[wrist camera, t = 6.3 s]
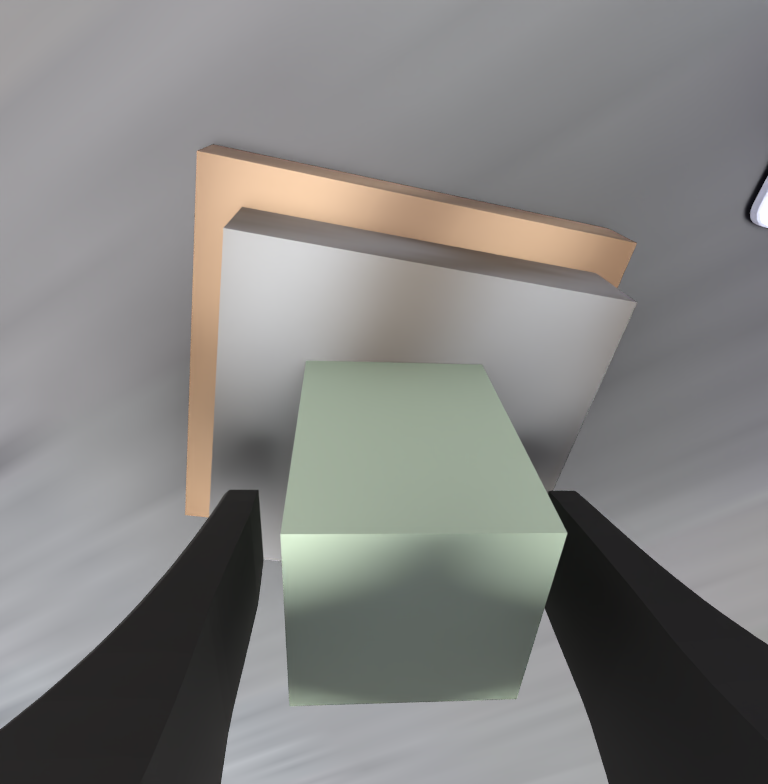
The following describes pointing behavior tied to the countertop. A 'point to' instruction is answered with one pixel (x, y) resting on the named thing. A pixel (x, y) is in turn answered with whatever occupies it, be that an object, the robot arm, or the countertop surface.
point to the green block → (411, 538)
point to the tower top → (394, 337)
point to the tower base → (358, 210)
